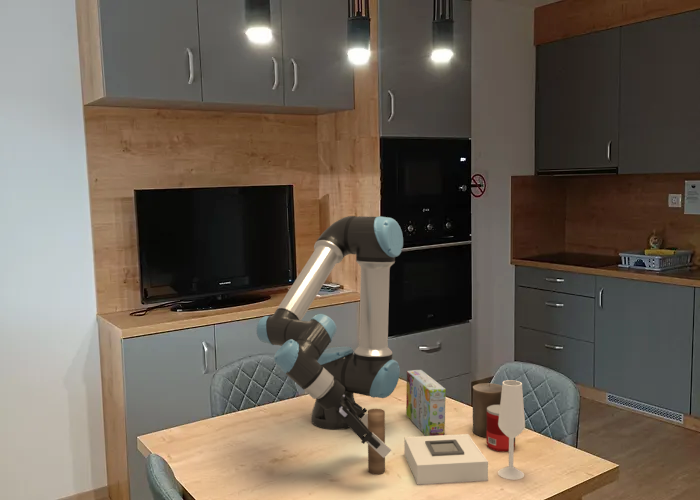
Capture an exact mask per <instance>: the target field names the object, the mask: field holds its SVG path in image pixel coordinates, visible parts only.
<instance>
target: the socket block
mask: <svg viewBox="0 0 700 500" xmlns="http://www.w3.org/2000/svg"><path fill="white" fill-rule="evenodd" d="M403 443H404V445H403V446H404V458H405V459H406V462H407V464H408V467H409V468H410V470H411V474H412V475H413V478H414V480H415V482H416V484H417V485H432V484H433V485H434V484H436V485H437V484H451V483H453V484H455V483H468V482H486V481H487V482H488V481H489V460H488V459H487V457H486V456H485V455H484V454H483V452H482V451H481V450H480V448H479V447H478V446H477V444H476V443H475V441H474V440H473V439H472V437H471V435H470V434H469V433H461V434H445V435H438V436H426V435H422V436H404V441H403Z"/></svg>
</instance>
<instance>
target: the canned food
mask: <svg viewBox="0 0 700 500" xmlns="http://www.w3.org/2000/svg"><path fill="white" fill-rule="evenodd" d="M499 411H500V405H491V406H489V407H487V437H485V438H486V439H485V440H486V441H485V442H486V446H487V448H488V449H490V450H492V451H494V452H502V453H506V452H509V437H507V436H506V435H505V434H504V433H503V432H502V431H501V429H500V428H499V426H498V420H499ZM515 447H516V437H515V438H514V448H515Z"/></svg>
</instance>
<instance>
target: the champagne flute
mask: <svg viewBox="0 0 700 500" xmlns="http://www.w3.org/2000/svg"><path fill="white" fill-rule="evenodd" d="M523 393H524V392H523V383H522V382H521V381H519V380H514V379H513V380H511V379H510V380H509V379H508V380H503V381H502V393H501V402H500V411H499V420H498V426H499V428H500V429H501V431H502V432H503V433H504V434H505V435H506V436H507V437H509V451H508V466H505V467H503V468H500V469H499V470H498V471H497V475H498V476H499V477H501V478H503V479H505V480H511V481H512V480H514V481H516V480H521V479H523V478H524V477H525V473H524V472H523V471H522V470H520V469H518V468H516V467H514V449H515V447H514V438H515V439H516V438H517V437H518V436H519V435H521V434H522V433H523V431H524V430H525V428H526V418H525V407H524V406H525V405H524V395H523Z"/></svg>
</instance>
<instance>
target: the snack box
mask: <svg viewBox="0 0 700 500" xmlns="http://www.w3.org/2000/svg"><path fill="white" fill-rule="evenodd" d="M446 392H447V391H446V388H445V387H443V385H441V384H440V383H439V382H437V381H436V380H435V379H434V378H432V377H431V376H429V375H428V374H427V373H426V372H425V371H423V369H413V370H407V371H406V401H405V403H406V407H405V408H406V410H405V413H406V414H405V415H406V417H407V418H409V420H410V421H411V422H412V423H413V424H414V425H415V426H416V427H417V428H418V429H419V430H420V432H422V433H423V435H424V436H438V435H446V434H445V433H446V432H445V427H446V423H445V422H446V400H447V399H446V398H447V397H446V395H447V394H446Z"/></svg>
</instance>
